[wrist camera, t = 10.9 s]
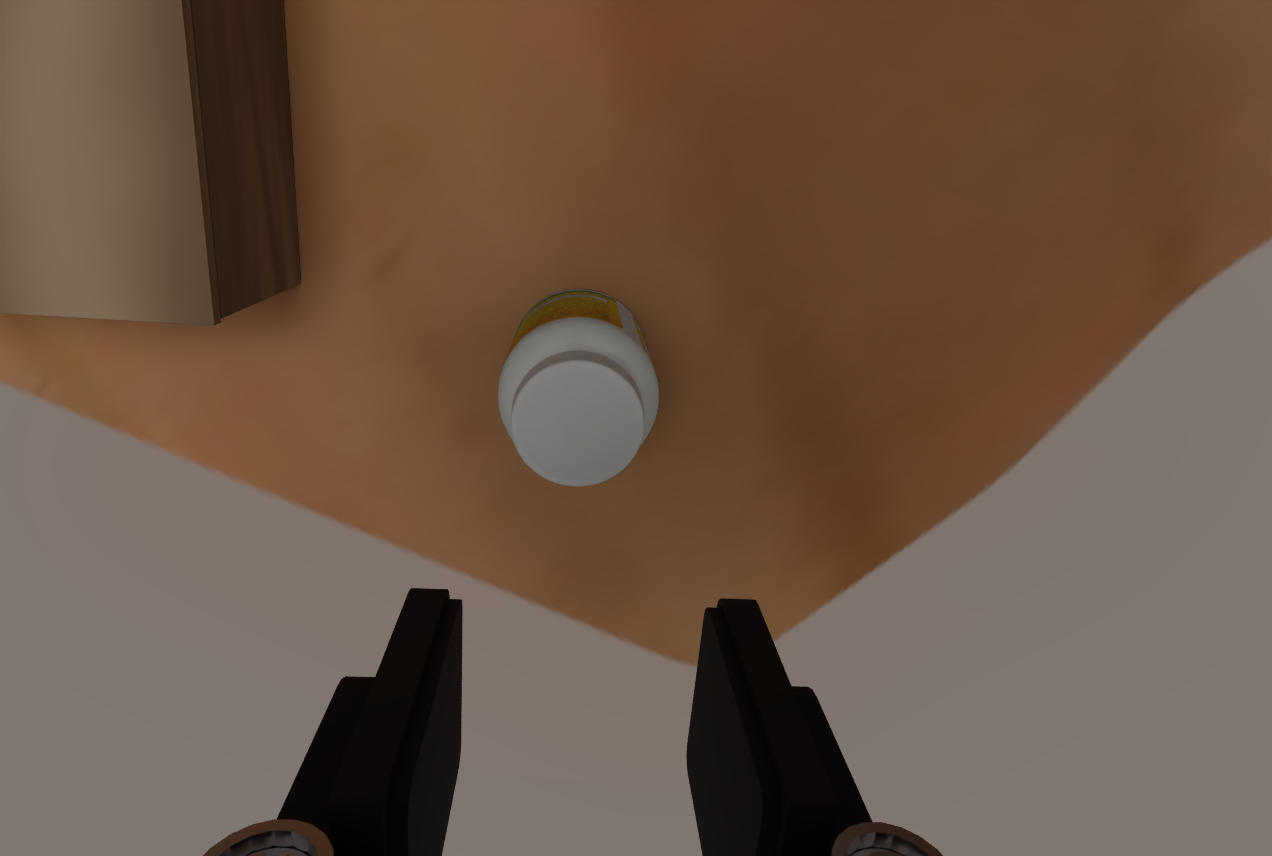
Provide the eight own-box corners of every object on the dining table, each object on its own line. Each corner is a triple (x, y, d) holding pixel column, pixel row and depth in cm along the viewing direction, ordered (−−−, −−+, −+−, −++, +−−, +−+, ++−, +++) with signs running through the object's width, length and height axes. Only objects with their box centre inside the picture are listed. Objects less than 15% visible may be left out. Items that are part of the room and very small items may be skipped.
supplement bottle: (670, 348, 32) (706, 423, 23) (582, 436, 33) (584, 542, 24) (575, 257, 30) (574, 298, 21) (486, 353, 31) (449, 431, 22)
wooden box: (274, -141, 25) (167, -248, 19) (300, 283, 30) (222, 318, 23) (-120, -189, 24) (-383, -320, 17) (-30, 260, 29) (-212, 289, 22)
